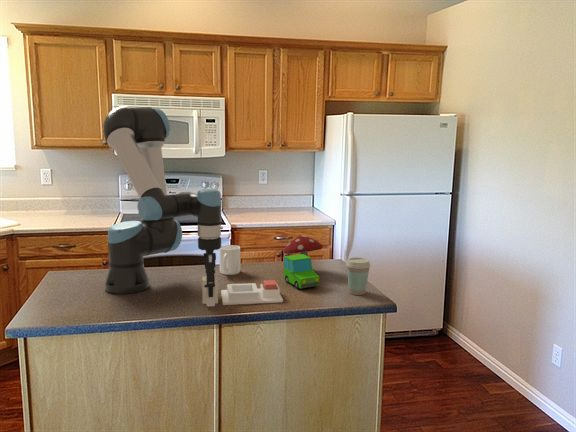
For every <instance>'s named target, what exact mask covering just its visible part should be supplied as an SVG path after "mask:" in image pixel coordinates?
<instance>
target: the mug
mask: <svg viewBox="0 0 576 432" xmlns="http://www.w3.org/2000/svg"><path fill="white" fill-rule="evenodd" d="M240 272H241V246H240V245H235V244H234V245H233V244H226V245H221V248H220V249H219V273H220V274H221V275H227V276H233V275H234V276H235V275H239V274H240Z"/></svg>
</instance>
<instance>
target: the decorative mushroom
mask: <svg viewBox="0 0 576 432" xmlns="http://www.w3.org/2000/svg"><path fill="white" fill-rule="evenodd" d="M323 247H324V245H322V243H320V242H319V241H318V240H317V239H314V238H312V237H309V236H307V235H301V234H300V235H298V236H297V237H295V238H293V239H292V240H291V241H289V242H288V243H287V244H286V245H285V247H284V248H283V253H284V254H288V255H289V254H291V255H294V254H304V255H306V256H308V257H310V256H309V254H308V253H309V252H314V251H321V250H322V249H323Z"/></svg>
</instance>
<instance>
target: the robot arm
mask: <svg viewBox="0 0 576 432" xmlns="http://www.w3.org/2000/svg"><path fill="white" fill-rule="evenodd" d="M170 125H171V124H170V121H169V117H168V116H167V115H166V113H165V112H164V111H163V110H162V109H160V108H155V107H152V106H147V107H146V106H145V107H144V106H126V105H123V106H118V107H115V108H113V109H112V110H110V111H109V112H108V114H107V115H106V117H105V119H104V121H103V124H102V133H103V137H104V139H105V141H106V143H107V145H108V146H109V147H110V148H112V149H113V150H114V152H115V154H116V156H117V158H118V159H119V161H120V163H121V165H122V167H123V168H124V171H125V173H126V175H127V176H128V179H129V181H130V182H131V184H132V187H133V188H134V189H135V192H136V193H137V195H138V198H139V200H138V202H137V210H138V212H137V213H138V215H139V217H140V218H141V220H139V221H138V220H130V221H122V222H116V223H115V224H112V225H111V226H110V227H109V229H107V230H108V231H107V248H108V262H109V263H108V265H109V266H108V272H107V274H106V279H105V281H104V290H105V292H108V293H111V294H118V295H119V294H120V295H123V294H134V293H139V292H142V291H145V290H147V289H149V287H150V278H149V276H148V274H147V271H146V268H145V266H144V257H145V256H146V257H148V256H152V255H158V254H164V253H165V254H167V253H168V252H172V251H175V250H177V249H178V248H179V247H180V244H181V242H182V238H183V229H182V226H181V224H180V222H179V221H177V220H176V219H175V218H180V217H181V218H182V217H186V216H187V217H188V216H193V217H197V236H198V238H197V246H198V247H197V248H198V249H199V250H201V251H205V253H203V261H204V269H205V276H207V284H206V285H204V287H206V307H215V306H216V303H215V276H216V275H215V274H216V269H215V268H216V260H217V253H216V252H214V251H219V250H220V248H221V246H222V237H221V236H222V231H221V230H223V229H224V227H223V226H222V197H221V192H220V190H218V189H215V188H205V189H199V190H198V191H197V192H196V193H195V192H191V191H181V192H179V193H177V194H176V193H175V194H168V192H167V183H166V175H165V168H164V160H163V151H162V148H163V146H164V145H165V144H166V141H165V140H166V139H167V138H168V137H169V135H170V131H171V126H170ZM211 282H212V283H211Z"/></svg>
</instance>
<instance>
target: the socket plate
mask: <svg viewBox="0 0 576 432" xmlns="http://www.w3.org/2000/svg"><path fill="white" fill-rule="evenodd" d="M259 287H260V288H258V286H257V284H256V283H255V282H254V283H252V282H251V283H227V284H226V289H222V290H220V294H221V301H222V305H223V306H225V305H226V306H230V305H252V304H253V305H254V304H272V303H277V304H278V303H283V302H284V299H283V297H282V295H281V290H280V289H281V288H280V287H279V285H278V284H277V289H272V290H265V289H264V286H263V283H260V285H259Z"/></svg>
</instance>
